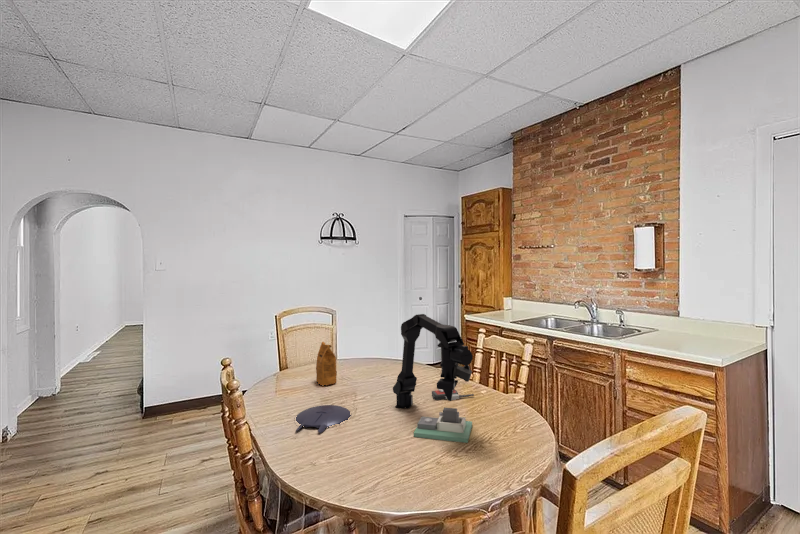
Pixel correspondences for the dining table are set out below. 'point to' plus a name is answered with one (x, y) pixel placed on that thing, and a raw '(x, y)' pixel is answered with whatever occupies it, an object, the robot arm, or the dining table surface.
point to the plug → (450, 415)
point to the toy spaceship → (322, 416)
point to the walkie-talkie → (441, 395)
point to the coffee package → (326, 366)
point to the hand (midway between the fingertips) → (449, 400)
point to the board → (443, 429)
